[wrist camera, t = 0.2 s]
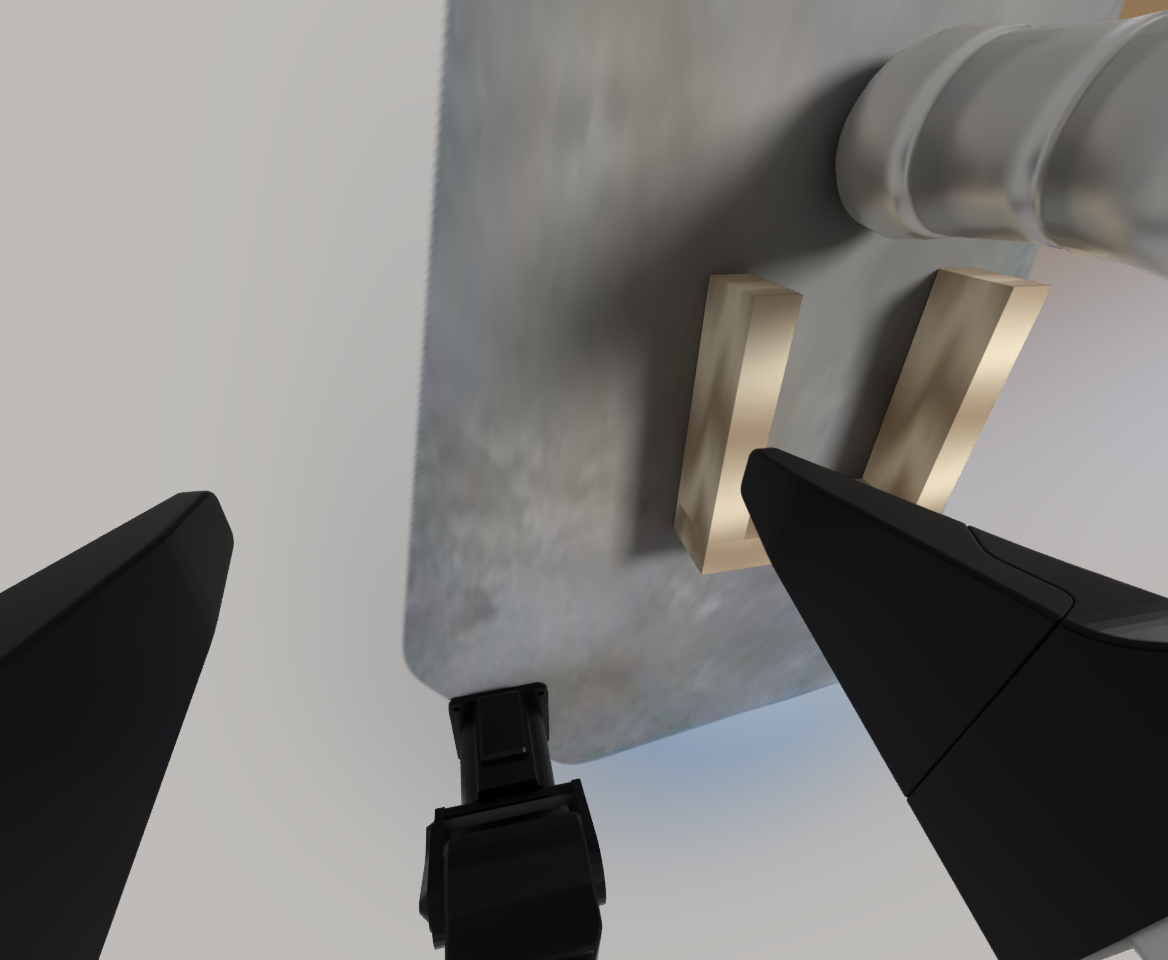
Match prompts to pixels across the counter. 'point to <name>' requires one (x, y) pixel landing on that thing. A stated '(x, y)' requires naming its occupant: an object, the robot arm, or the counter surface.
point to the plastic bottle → (1019, 139)
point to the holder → (911, 424)
